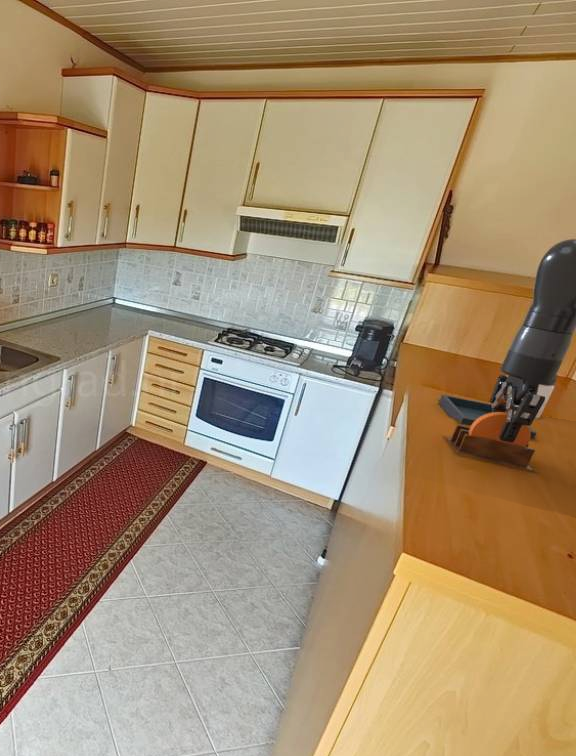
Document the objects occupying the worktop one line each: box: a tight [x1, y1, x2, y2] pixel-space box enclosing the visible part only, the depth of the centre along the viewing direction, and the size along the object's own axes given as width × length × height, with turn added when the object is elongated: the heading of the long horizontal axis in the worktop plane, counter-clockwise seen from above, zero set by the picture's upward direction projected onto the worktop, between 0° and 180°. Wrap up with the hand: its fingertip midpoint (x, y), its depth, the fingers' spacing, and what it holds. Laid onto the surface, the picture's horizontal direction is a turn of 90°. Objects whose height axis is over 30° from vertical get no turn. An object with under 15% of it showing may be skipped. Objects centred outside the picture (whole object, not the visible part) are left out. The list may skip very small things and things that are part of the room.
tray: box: [438, 394, 538, 440], centre depth 117 cm, size 14×18×3 cm
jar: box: [503, 373, 559, 419], centre depth 124 cm, size 9×8×12 cm
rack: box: [445, 424, 536, 471], centre depth 98 cm, size 12×9×5 cm
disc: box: [469, 412, 531, 447], centre depth 95 cm, size 9×2×9 cm, turn 66°
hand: (498, 433), depth 95 cm, fingers open, 6 cm apart
